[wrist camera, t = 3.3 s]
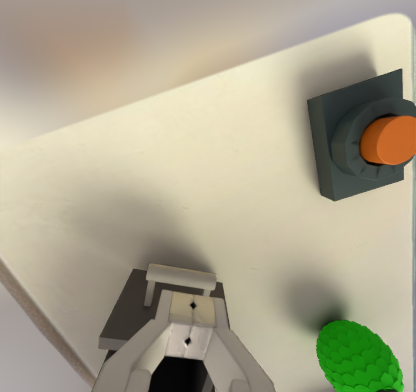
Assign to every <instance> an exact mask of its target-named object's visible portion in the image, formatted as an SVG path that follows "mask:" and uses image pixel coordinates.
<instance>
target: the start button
mask: <svg viewBox="0 0 416 392" xmlns="http://www.w3.org/2000/svg"><path fill="white" fill-rule="evenodd" d="M359 151H360V154H361V156H362V157H363V158H364V159H365V160H367V161H369V162H374V163H382V164H390V165H396V164H400V163H403V162H405V161H407V160H408V159H410V158H411V157H412V156H413V155H414V154H415V153H416V118H414V117H412V116H397V117H389V118H381V119H378V120H376V121H374V122H372V123H371V124H369V125H368V126H367V127H366V128H365V130H364V131H363V133H362V136H361V138H360V140H359Z"/></svg>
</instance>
